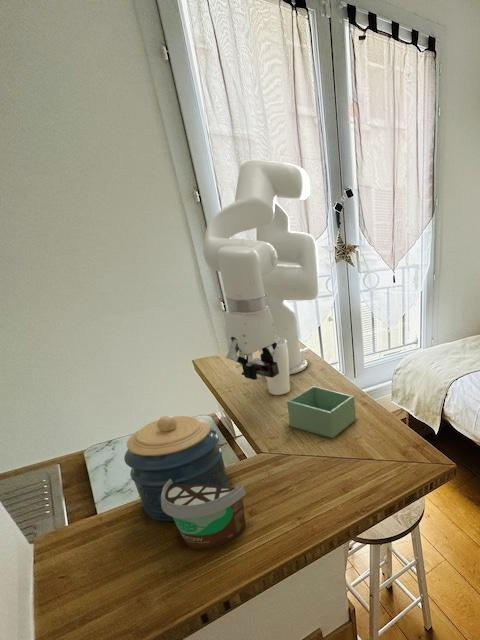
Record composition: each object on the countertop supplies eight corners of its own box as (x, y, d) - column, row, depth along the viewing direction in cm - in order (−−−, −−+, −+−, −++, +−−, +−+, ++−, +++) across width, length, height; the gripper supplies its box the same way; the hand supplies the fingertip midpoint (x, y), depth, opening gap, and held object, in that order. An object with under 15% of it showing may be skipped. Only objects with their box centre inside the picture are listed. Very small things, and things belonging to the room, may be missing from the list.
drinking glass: (298, 387, 115) (291, 339, 108) (284, 398, 109) (276, 348, 102) (275, 384, 115) (268, 336, 109) (260, 395, 109) (251, 344, 102)
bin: (316, 408, 106) (313, 385, 102) (355, 419, 103) (354, 396, 100) (290, 426, 97) (286, 401, 94) (332, 438, 95) (330, 413, 92)
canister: (233, 506, 73) (214, 426, 66) (142, 534, 66) (108, 448, 58) (227, 466, 82) (209, 393, 75) (146, 487, 75) (117, 408, 68)
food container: (154, 552, 63) (136, 505, 59) (181, 522, 69) (166, 478, 65) (233, 557, 64) (220, 511, 60) (254, 527, 70) (244, 483, 65)
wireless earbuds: (255, 368, 101) (253, 357, 99) (280, 374, 100) (278, 362, 98) (241, 376, 97) (238, 364, 95) (267, 382, 96) (264, 370, 94)
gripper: (263, 291, 98) (274, 357, 106) (198, 309, 83) (217, 384, 91) (288, 297, 96) (297, 364, 105) (227, 317, 82) (243, 392, 90)
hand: (260, 373), depth 98 cm, fingers closed on wireless earbuds, 4 cm apart
